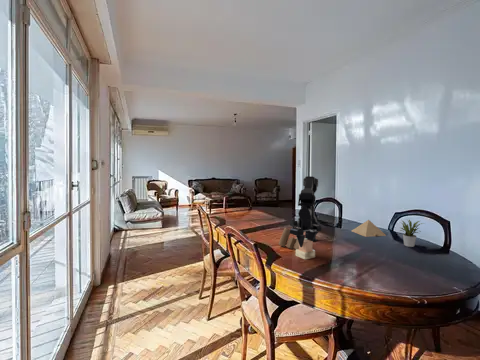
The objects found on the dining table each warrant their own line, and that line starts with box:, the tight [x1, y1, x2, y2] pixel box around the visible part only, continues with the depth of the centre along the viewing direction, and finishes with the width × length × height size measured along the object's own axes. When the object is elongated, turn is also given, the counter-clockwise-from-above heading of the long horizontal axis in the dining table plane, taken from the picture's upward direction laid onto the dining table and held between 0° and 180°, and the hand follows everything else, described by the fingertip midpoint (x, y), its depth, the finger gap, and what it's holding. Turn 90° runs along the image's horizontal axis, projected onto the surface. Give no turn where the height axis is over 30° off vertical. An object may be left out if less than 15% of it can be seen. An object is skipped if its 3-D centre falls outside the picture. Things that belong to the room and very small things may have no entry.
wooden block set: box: [278, 227, 299, 250], centre depth 165 cm, size 18×9×10 cm, turn 29°
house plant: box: [399, 219, 426, 248], centre depth 169 cm, size 14×14×16 cm
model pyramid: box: [351, 219, 387, 238], centre depth 198 cm, size 17×17×10 cm
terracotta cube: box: [299, 239, 314, 252], centre depth 148 cm, size 5×5×5 cm
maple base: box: [295, 249, 316, 260], centre depth 148 cm, size 7×7×4 cm
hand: (305, 245), depth 148 cm, fingers open, 7 cm apart
